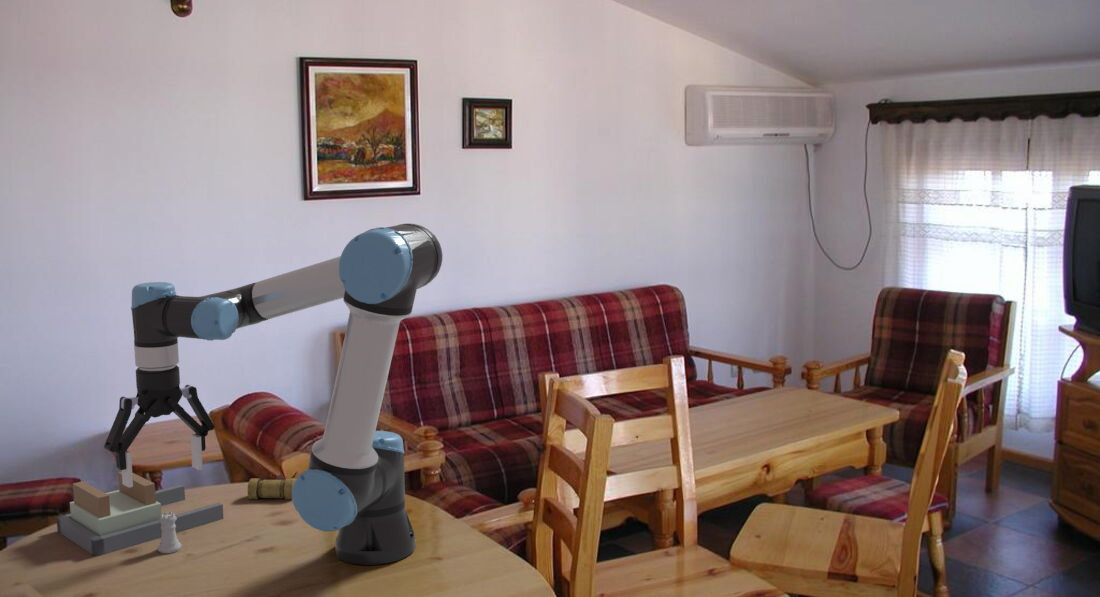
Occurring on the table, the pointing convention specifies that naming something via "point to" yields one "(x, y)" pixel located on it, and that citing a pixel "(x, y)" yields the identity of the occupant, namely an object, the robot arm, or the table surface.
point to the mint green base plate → (115, 506)
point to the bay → (140, 532)
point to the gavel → (271, 488)
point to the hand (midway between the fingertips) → (163, 476)
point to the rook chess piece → (168, 534)
